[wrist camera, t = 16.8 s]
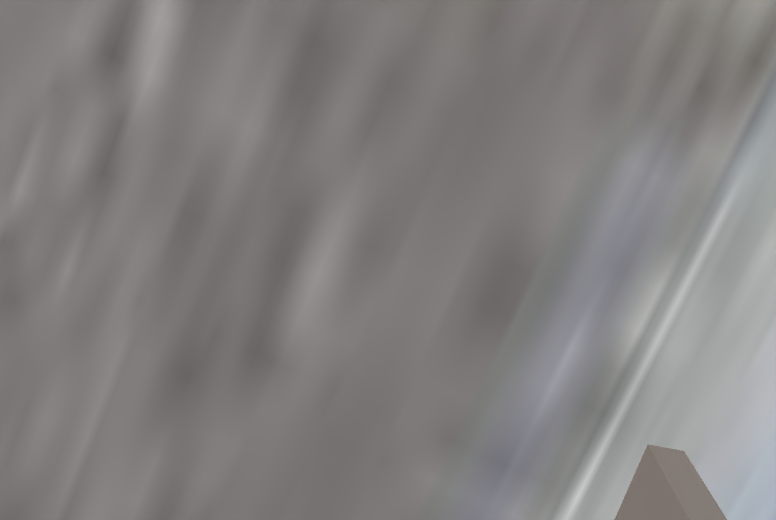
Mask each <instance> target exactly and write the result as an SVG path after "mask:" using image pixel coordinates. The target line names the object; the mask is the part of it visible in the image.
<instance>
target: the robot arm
mask: <svg viewBox="0 0 776 520" xmlns="http://www.w3.org/2000/svg"><path fill="white" fill-rule="evenodd" d="M615 520H727V519H726V517H725V516H724V514H723V513H722V511H721V509H720V508H719V506H718V505H717V503H716V501H715V500H714V498H713V497H712V495H711V493H710V492H709V490H708V489H707V487H706V485H705V484H704V482H703V481H702V479H701V478H700V476H699V474H698V473H697V471H696V470H695V468H694V466H693V465H692V463H691V462H690V460H689V458H688V457H687V455H686V454H685V452H684V451H681V450H675V449H670V448H664V447H659V446H653V445H647V447H646V450H645V452H644V454H643V456H642V459H641V461H640V463H639V466H638V468H637V470H636V472H635V475H634V477H633V479H632V481H631V484H630V486H629V488H628V491H627V493H626V495H625V497H624V500H623V502H622V504H621V506H620V509H619V511H618V513H617V516H616V518H615Z"/></svg>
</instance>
